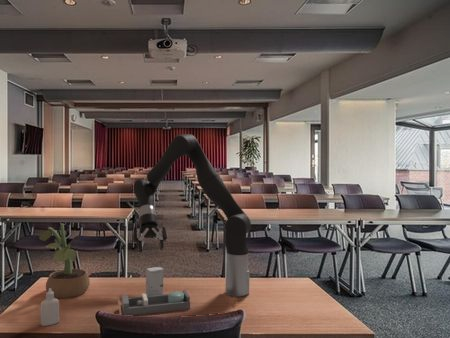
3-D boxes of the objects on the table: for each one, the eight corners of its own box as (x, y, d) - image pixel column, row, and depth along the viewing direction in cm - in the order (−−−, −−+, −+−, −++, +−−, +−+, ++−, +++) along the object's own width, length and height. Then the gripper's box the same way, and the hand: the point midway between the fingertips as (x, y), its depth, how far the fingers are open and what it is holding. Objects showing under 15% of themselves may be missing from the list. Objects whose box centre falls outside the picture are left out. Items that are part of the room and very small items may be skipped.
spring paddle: (145, 303, 146) (145, 293, 146) (147, 311, 139) (148, 300, 139) (136, 304, 145) (136, 294, 145) (138, 312, 138) (138, 301, 138)
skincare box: (149, 301, 151) (149, 271, 150) (145, 298, 155) (145, 268, 154) (163, 298, 154) (164, 269, 154) (159, 295, 158) (159, 266, 157)
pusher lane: (184, 301, 152) (184, 288, 152) (190, 311, 143) (190, 298, 142) (121, 307, 145) (121, 294, 145) (123, 318, 135) (123, 304, 135)
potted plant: (52, 285, 167) (51, 216, 166) (94, 284, 169) (94, 216, 167) (29, 305, 145) (29, 226, 143) (78, 305, 146) (79, 227, 145)
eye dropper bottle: (43, 320, 132) (43, 286, 132) (60, 320, 133) (60, 286, 133) (38, 326, 128) (38, 291, 128) (56, 326, 129) (56, 290, 128)
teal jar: (182, 301, 150) (182, 290, 150) (185, 307, 144) (185, 296, 144) (166, 302, 148) (166, 292, 148) (169, 308, 142) (169, 298, 142)
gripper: (133, 212, 167) (135, 246, 158) (165, 212, 173) (169, 244, 163) (130, 221, 173) (133, 254, 163) (161, 221, 178) (166, 253, 168)
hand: (151, 249), depth 163 cm, fingers open, 8 cm apart
